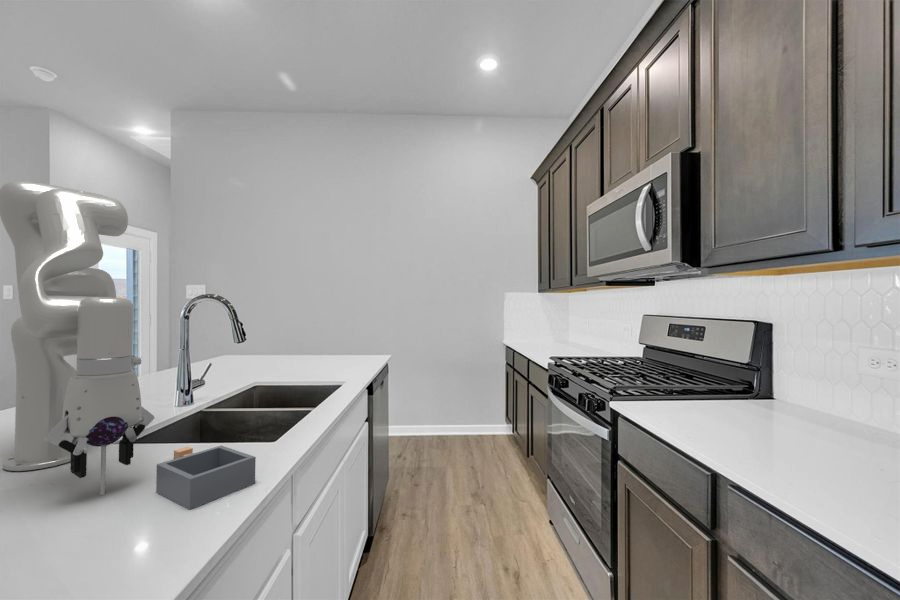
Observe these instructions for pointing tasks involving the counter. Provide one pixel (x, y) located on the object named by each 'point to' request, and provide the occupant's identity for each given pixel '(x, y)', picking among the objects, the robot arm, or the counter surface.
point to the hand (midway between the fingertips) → (103, 468)
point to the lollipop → (106, 440)
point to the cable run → (183, 452)
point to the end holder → (205, 476)
